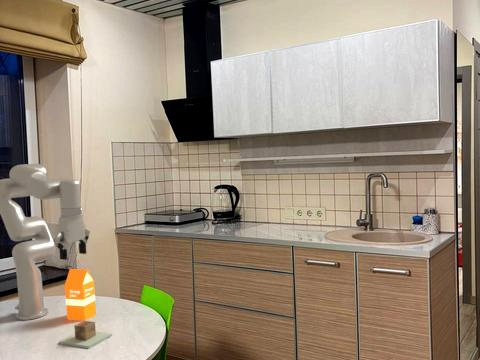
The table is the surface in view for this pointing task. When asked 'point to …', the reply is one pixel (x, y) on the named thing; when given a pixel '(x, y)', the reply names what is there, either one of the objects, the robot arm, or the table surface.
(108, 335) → the sage board
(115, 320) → the table surface
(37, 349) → the table surface
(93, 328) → the walnut cube
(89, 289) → the orange juice
